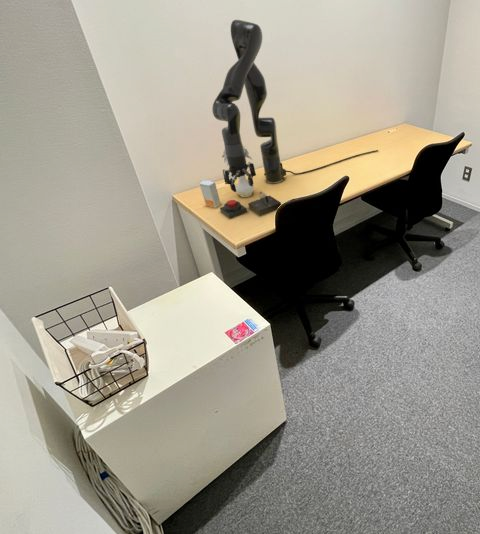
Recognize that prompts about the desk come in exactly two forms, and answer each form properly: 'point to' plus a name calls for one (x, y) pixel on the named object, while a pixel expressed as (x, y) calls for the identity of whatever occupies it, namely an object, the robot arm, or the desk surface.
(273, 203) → the rotary lever switch
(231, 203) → the button
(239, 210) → the button box
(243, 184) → the flower vase
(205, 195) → the cosmetic box
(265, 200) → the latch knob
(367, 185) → the desk surface
